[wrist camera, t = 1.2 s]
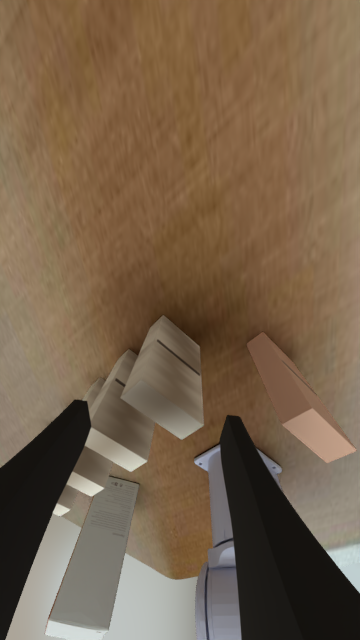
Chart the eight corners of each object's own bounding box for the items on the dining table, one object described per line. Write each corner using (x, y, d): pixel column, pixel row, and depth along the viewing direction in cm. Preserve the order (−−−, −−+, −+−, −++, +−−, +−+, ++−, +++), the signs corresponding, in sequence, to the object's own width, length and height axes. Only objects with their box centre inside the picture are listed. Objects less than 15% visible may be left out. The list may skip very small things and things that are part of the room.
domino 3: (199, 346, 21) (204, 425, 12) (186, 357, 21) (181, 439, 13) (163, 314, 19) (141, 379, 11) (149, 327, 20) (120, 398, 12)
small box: (101, 473, 31) (46, 621, 20) (140, 483, 32) (109, 633, 20) (93, 497, 35) (42, 636, 23) (128, 506, 35) (97, 646, 24)
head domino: (293, 362, 21) (357, 450, 13) (276, 372, 21) (326, 463, 13) (262, 331, 19) (312, 407, 11) (246, 344, 20) (281, 424, 12)
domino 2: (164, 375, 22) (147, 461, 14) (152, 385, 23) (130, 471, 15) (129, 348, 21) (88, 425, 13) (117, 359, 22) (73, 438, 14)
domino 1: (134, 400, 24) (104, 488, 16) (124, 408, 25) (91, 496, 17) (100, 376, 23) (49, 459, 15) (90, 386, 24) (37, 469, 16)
